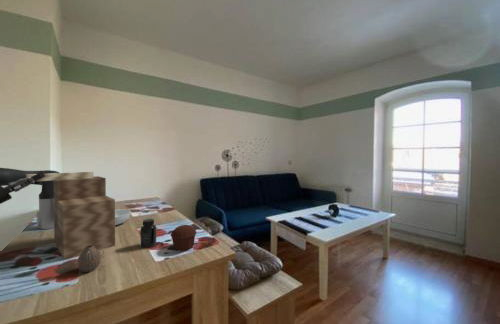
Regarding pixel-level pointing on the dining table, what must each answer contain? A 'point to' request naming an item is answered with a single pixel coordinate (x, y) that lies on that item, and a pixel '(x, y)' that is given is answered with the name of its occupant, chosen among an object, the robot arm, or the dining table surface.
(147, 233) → the supplement bottle
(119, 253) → the dining table surface
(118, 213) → the serving bowl
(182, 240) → the muffin
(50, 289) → the dining table surface
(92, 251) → the brown egg-shaped lump
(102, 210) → the walnut stand
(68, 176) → the birch rod
